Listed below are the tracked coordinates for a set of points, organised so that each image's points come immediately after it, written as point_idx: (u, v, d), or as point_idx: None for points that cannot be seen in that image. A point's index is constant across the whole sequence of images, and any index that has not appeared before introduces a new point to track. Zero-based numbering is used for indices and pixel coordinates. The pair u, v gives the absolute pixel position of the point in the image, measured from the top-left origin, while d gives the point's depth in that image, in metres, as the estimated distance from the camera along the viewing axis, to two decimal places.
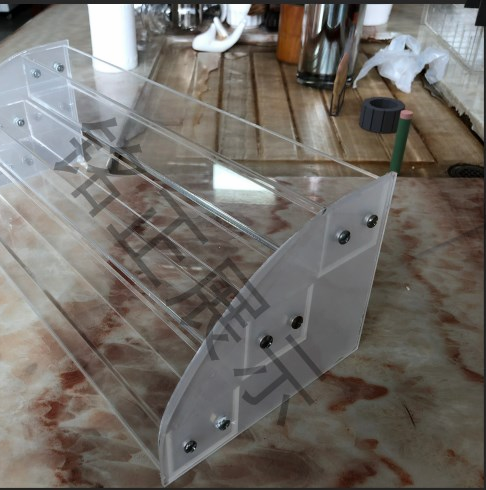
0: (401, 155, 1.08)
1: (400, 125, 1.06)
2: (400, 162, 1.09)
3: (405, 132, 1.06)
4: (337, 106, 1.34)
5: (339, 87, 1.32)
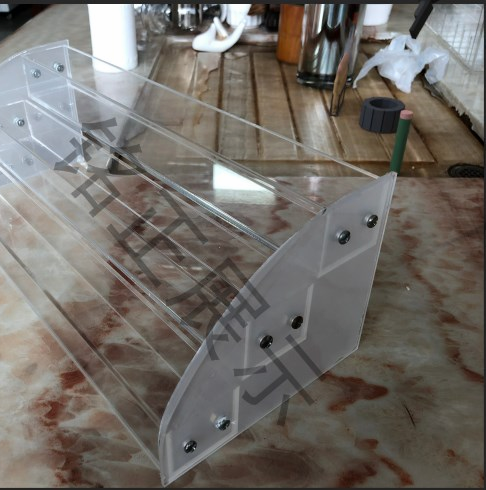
0: (401, 155, 1.08)
1: (400, 125, 1.06)
2: (400, 162, 1.09)
3: (405, 132, 1.06)
4: (337, 106, 1.34)
5: (339, 87, 1.32)
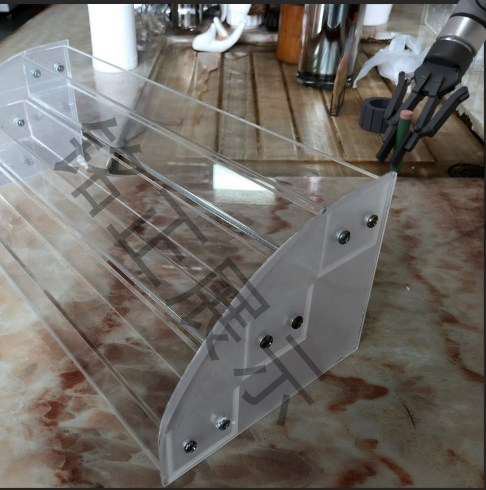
0: None
1: (400, 125, 1.06)
2: (400, 162, 1.09)
3: (405, 132, 1.06)
4: (337, 106, 1.34)
5: (339, 87, 1.32)
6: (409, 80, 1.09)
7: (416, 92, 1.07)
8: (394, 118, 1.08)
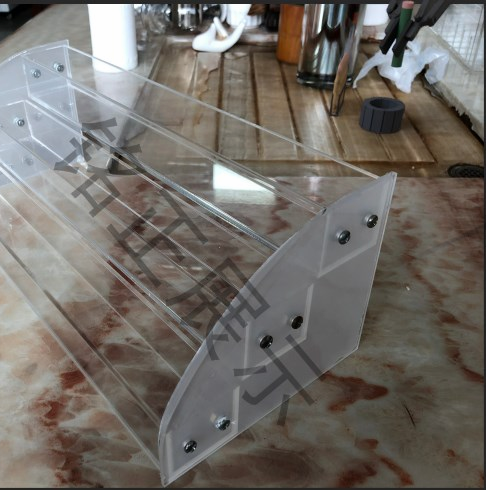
0: None
1: (402, 16, 1.12)
2: (402, 54, 1.15)
3: None
4: (337, 106, 1.34)
5: (339, 87, 1.32)
6: None
7: None
8: (396, 11, 1.14)
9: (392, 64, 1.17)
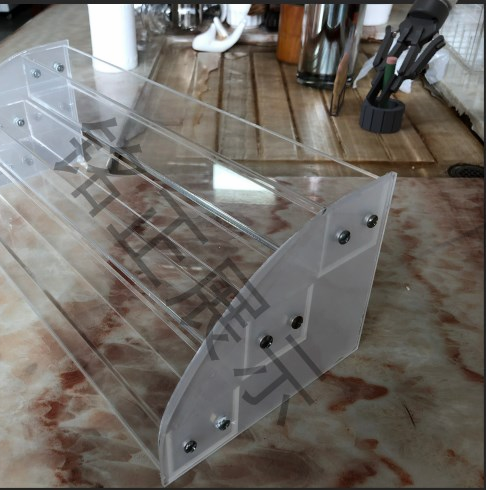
0: None
1: (386, 70, 1.23)
2: (387, 103, 1.27)
3: None
4: (337, 106, 1.34)
5: (339, 87, 1.32)
6: (394, 33, 1.27)
7: (400, 42, 1.24)
8: (381, 65, 1.25)
9: None
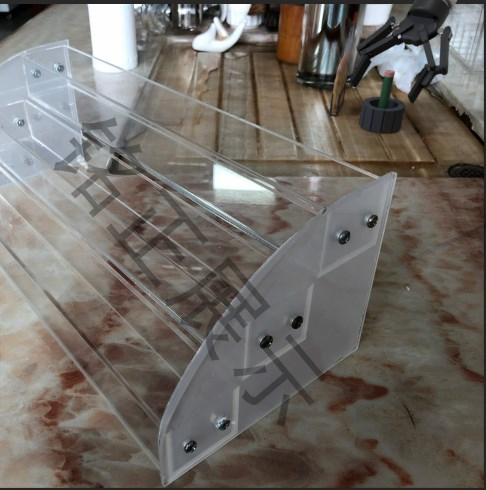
0: None
1: (384, 83, 1.25)
2: None
3: (388, 88, 1.25)
4: (337, 106, 1.34)
5: (339, 87, 1.32)
6: (393, 26, 1.27)
7: (393, 36, 1.26)
8: (366, 49, 1.28)
9: None
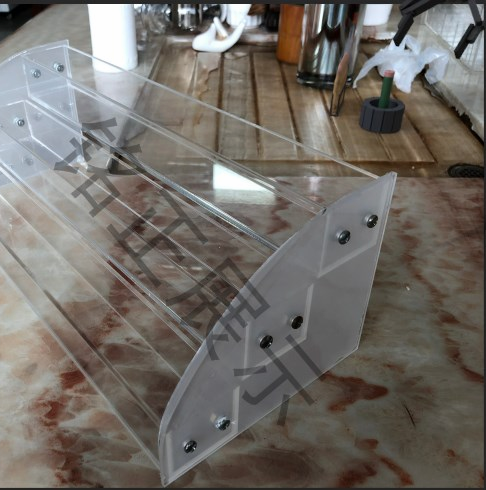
0: None
1: (384, 83, 1.25)
2: None
3: (388, 88, 1.25)
4: (337, 106, 1.34)
5: (339, 87, 1.32)
6: None
7: None
8: (409, 8, 1.29)
9: None
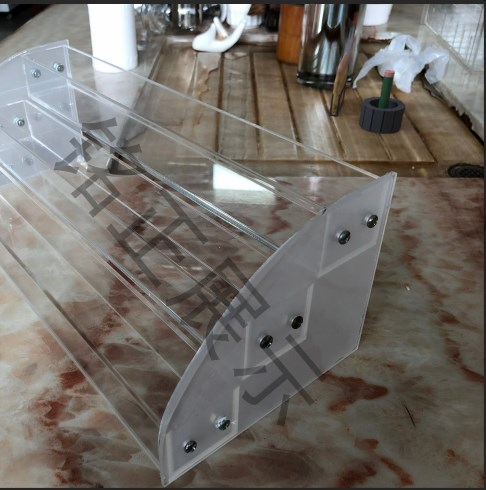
0: None
1: (384, 83, 1.25)
2: None
3: (388, 88, 1.25)
4: (337, 106, 1.34)
5: (339, 87, 1.32)
6: None
7: None
8: None
9: None
